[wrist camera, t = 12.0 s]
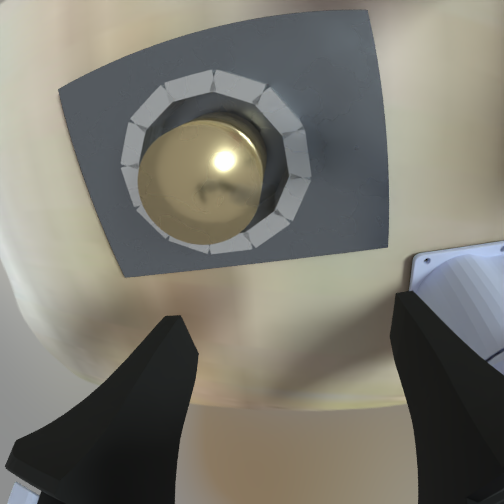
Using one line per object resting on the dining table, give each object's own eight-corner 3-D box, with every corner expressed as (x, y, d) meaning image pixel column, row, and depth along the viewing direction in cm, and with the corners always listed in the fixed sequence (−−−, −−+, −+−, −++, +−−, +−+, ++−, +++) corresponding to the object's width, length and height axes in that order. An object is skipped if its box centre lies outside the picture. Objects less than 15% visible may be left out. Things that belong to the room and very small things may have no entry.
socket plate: (364, 11, 11) (382, -1, 9) (385, 242, 18) (399, 270, 16) (63, 88, 14) (32, 95, 12) (128, 272, 21) (110, 299, 19)
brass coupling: (258, 104, 14) (248, 114, 10) (273, 193, 17) (269, 238, 12) (166, 122, 15) (123, 142, 11) (187, 205, 18) (157, 250, 13)
